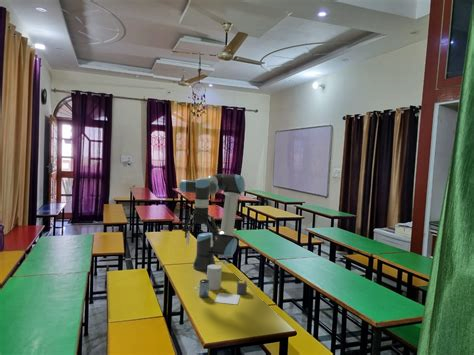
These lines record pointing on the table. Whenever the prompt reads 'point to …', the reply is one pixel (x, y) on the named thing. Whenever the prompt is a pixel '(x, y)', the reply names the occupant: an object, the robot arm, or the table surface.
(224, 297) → the mat
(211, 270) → the cup
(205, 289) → the cylinder
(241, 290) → the relay block
